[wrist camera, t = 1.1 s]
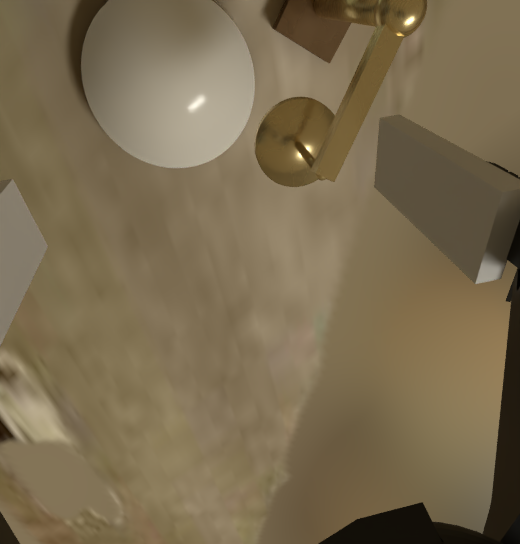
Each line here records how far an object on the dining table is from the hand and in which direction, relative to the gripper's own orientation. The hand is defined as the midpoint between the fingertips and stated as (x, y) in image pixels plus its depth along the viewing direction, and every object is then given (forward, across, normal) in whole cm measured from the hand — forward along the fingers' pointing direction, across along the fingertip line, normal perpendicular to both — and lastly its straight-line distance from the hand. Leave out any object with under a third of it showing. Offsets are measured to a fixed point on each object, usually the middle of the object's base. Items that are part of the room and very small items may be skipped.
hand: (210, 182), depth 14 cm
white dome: (+21, -1, 0) cm, 21 cm away
